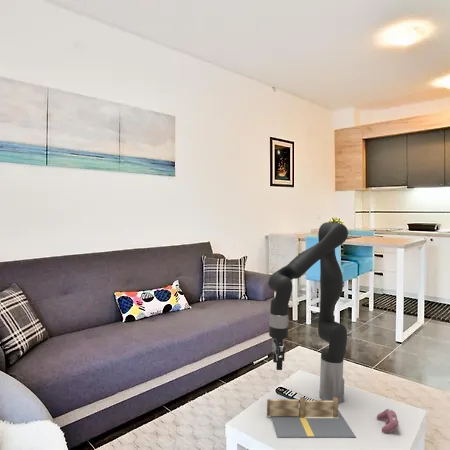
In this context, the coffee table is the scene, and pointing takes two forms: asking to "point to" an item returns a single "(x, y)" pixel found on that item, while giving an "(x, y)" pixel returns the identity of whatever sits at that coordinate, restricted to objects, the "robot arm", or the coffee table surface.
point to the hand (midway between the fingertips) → (277, 365)
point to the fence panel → (282, 407)
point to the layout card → (311, 427)
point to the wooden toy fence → (318, 408)
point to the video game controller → (388, 420)
